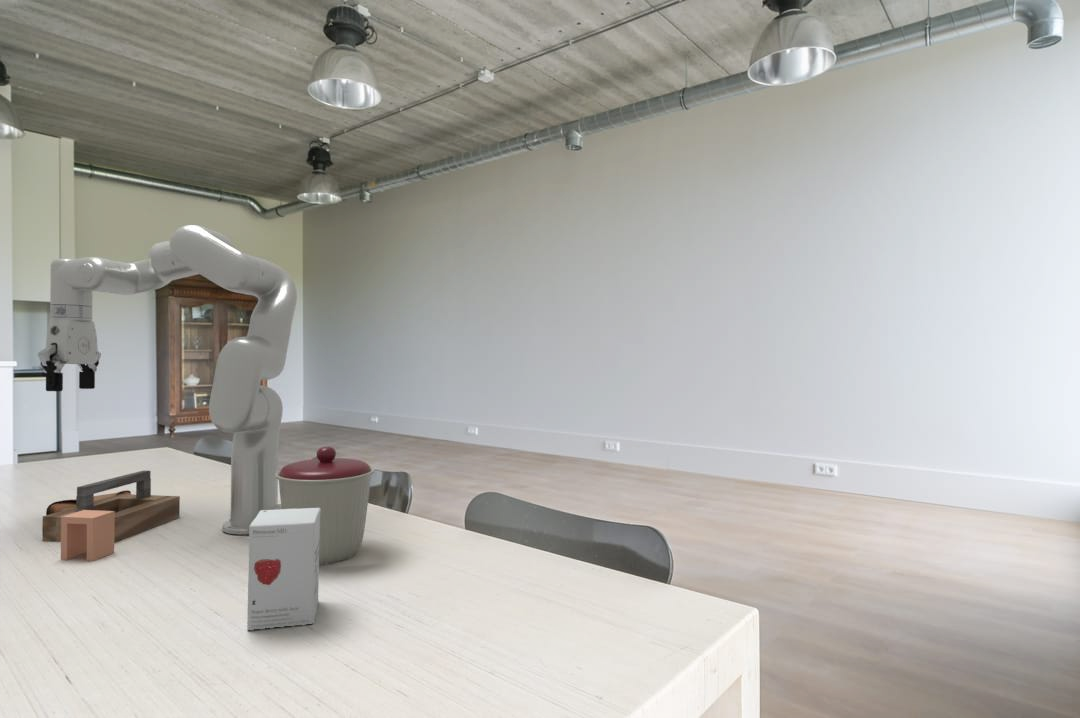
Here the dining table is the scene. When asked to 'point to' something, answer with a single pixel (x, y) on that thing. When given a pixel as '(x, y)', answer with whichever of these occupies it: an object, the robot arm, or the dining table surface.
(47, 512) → the sunglasses case
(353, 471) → the canister
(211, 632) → the dining table surface
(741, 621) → the dining table surface
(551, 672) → the dining table surface
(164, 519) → the wooden rectangular frame
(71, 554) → the pink u-channel block
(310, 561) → the supplement box
